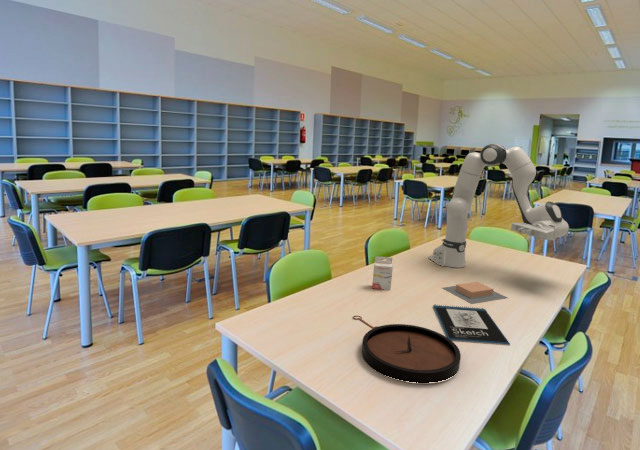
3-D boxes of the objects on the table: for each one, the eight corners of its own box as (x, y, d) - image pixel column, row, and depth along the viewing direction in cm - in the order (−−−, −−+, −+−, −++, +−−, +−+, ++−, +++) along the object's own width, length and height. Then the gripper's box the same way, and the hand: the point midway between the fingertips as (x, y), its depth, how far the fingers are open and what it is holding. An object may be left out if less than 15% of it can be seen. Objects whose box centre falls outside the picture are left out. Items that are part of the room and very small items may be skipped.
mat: (441, 289, 198) (441, 287, 197) (476, 284, 206) (476, 282, 206) (471, 305, 180) (471, 304, 180) (508, 299, 188) (508, 297, 188)
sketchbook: (447, 342, 148) (448, 337, 147) (432, 307, 177) (432, 303, 177) (509, 346, 146) (510, 341, 146) (483, 311, 176) (484, 306, 175)
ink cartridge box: (372, 289, 194) (374, 259, 190) (372, 285, 198) (374, 255, 195) (390, 290, 193) (393, 260, 190) (390, 286, 198) (392, 257, 194)
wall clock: (435, 386, 114) (343, 346, 133) (433, 399, 115) (342, 357, 134) (475, 345, 138) (392, 316, 157) (473, 356, 139) (391, 325, 158)
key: (387, 332, 154) (362, 316, 166) (387, 329, 153) (362, 313, 166) (375, 334, 150) (350, 317, 163) (375, 331, 150) (351, 315, 163)
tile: (476, 287, 200) (455, 290, 195) (477, 281, 199) (456, 284, 194) (492, 295, 191) (470, 298, 186) (493, 289, 190) (471, 292, 185)
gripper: (524, 219, 210) (503, 220, 205) (560, 228, 192) (539, 229, 187) (522, 231, 212) (502, 232, 206) (558, 241, 193) (537, 243, 188)
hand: (520, 231), depth 196 cm, fingers closed
